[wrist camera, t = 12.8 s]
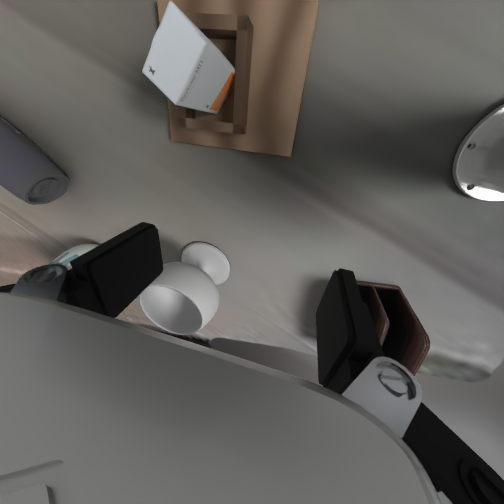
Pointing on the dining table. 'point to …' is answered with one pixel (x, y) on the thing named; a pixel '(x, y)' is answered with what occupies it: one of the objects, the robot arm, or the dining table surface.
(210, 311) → the chalice
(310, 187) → the dining table surface
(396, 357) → the letter holder
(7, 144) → the bluetooth speaker
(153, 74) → the skincare box
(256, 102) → the box stand
